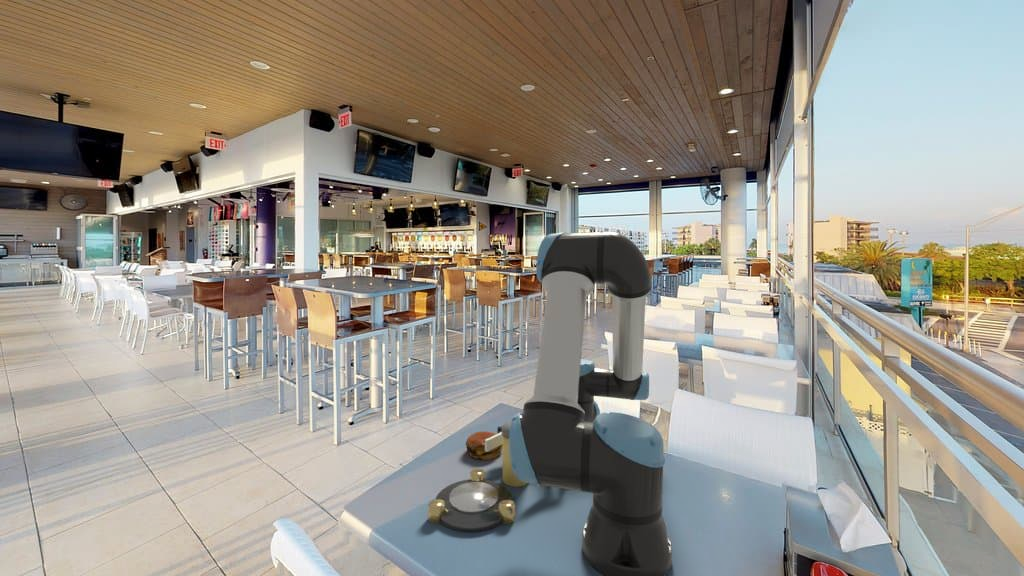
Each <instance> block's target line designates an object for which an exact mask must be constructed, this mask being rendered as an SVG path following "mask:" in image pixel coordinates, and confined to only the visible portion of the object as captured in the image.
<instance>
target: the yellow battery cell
mask: <svg viewBox="0 0 1024 576" xmlns="http://www.w3.org/2000/svg"><path fill="white" fill-rule="evenodd" d="M511 422H512V421H510V422H506V423H504V424H503V425H501V426H502V435H503V448H502V481H503V483H504V484H505V485H506V486H509V487H513V486H514V487H515V488H516V487H517V488H520V487H523V486H526V485H529V483H528V482H524V481H521V480H519V479H518V478H517V477H516V476H515V474H514V472H513V470H512V466H511V461H510V452H509V434H510V425H511Z"/></svg>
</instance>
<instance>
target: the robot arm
mask: <svg viewBox="0 0 1024 576" xmlns="http://www.w3.org/2000/svg"><path fill="white" fill-rule="evenodd" d="M537 251H538V252H537V256H536V261H537V262H536V264H535V265H536V266H535V272H536V278H537V280H538V281H539V282H540V283H541V287H542V289H543V290H544V291H545V292H546V299H545V305H544V306H545V307H544V313H543V320H542V321H543V323H542V330H541V336H540V344H539V352H538V358H537V364H536V365H537V366H536V375H535V381H534V389H533V395H532V397H530V398H529V399H527V400H526V401H525V402H524V404H523V408H522V412H518V413H517V414H513V416H512V418H511V421H510V422H511V425H510V434H509V452H510V461H511V466H512V470H513V472H514V474H515V476H516V477H517V478H518V479H519V480H521V481H524V482H528V484H532V485H533V484H534V485H537V486H538V487H542V486H546V487H549V488H550V487H551V488H558V489H564V490H571V491H577V492H582V493H588V494H589V493H590V494H592V506H591V508H590V511H589V513H588V517H587V520H586V523H584V527H583V530H582V534H581V535H582V538H581V539H582V540H581V542H582V543H581V544H582V545H581V547H582V548H581V549H582V552H583V555H584V557H585V558H586V560H587V561H588V563H589V564H590V565H591V566H592V567H593V568H594V569H595V570H597V571H598V572H599V573H601V574H602V575H605V576H664V575H665V574H666V573H667V572H668V571H669V572H670V570H671V568H672V562H673V549H672V543H671V540H670V538H669V536H668V532H667V527H666V524H665V520H664V517H663V499H664V498H663V494H664V493H663V492H664V491H663V489H664V488H663V486H664V485H663V484H664V466H665V464H666V458H665V451H664V438H663V436H662V434H661V432H660V431H659V429H657V428H656V427H655V426H654V425H652V424H651V423H649V422H648V421H646V420H644V419H642V418H640V417H637V416H634V415H630V414H626V413H622V412H615V411H612V412H611V411H610V412H602V413H601V410H600V407H599V406H598V403H597V402H596V401H595V398H594V397H601V398H611V399H612V398H613V399H622V400H630V401H647V400H648V399H649V396H650V374H649V373H648V372H645V371H643V363H644V362H643V360H644V342H645V341H644V340H645V317H646V299H647V297H646V296H648V295H649V293H650V292H651V289H652V288H651V287H652V275H651V270H650V267H649V264H648V262H647V258H646V257H645V255H644V254H643V252H642V251H641V249H640V248H639V247H638V245H636V243H634V242H633V240H631V239H630V238H628V237H627V236H626V235H623V234H621V233H617V232H614V231H605V232H564V231H562V232H559V233H558V232H557V233H550V234H546V236H544V237H543V239H542V240H541V242H540V245H539V248H538V250H537ZM595 284H597V285H598V284H600V285H601V284H602V285H605V284H607V290H608V293H609V294H610V295H612V297H611V298H612V302H611V303H612V308H611V309H612V311H611V312H612V369H610V368H609V369H606V368H596V366H595V361H592V360H590V359H585V358H582V353H583V352H582V351H583V339H584V328H585V316H586V302H587V297H589V296H590V295H592V294H593V292H594V290H595ZM502 426H503V425H501V426H498V427H497V431H496V432H497V433H495V435H493V436H492V437H490V438H488V439H486V440H485V451H486V452H488V451H490V450H492V449H494V448H496V447H498V446H500V445H502V444H503V435H502ZM669 572H668V573H669ZM668 573H667V574H668ZM665 576H666V575H665Z"/></svg>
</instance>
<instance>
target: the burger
mask: <svg viewBox="0 0 1024 576" xmlns="http://www.w3.org/2000/svg"><path fill="white" fill-rule="evenodd" d="M495 434H496V433H495V432H491V431H484V430H483V431H481V430H480V431H476V432H474V433H471V435H469V436H468V438H467V439H466V441H465V446H466V452H467V453H469V456H471V457H473V458H474V459H475V460H476V459H481V460H483V461H488V460H489V461H490V460H494V459H497V458H498V457H499V456H500V455H501V453H502V451H503V444H502V445H500V446H498V447H496V448H494V449H492V450H490V451H488V452H486V451H485V440H486V439H488V438H490V437H492V436H493V435H495Z"/></svg>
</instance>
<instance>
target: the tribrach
mask: <svg viewBox="0 0 1024 576" xmlns="http://www.w3.org/2000/svg"><path fill="white" fill-rule="evenodd" d="M485 474H486V473H485V470H484V469H480V468H475V469H472V470H471V471H470V479H469V478H468V479H464V480H460V481H456V482H454V483H451V484H450V485H447V486H446V487H444V488H442V489H441V490H440V492H438V494H437V495H436V497H435V499H433V500H430V501H429V502H428V507H427V509H428V521H429V523H431V524H442V526H444V527H446V528H448V529H450V528H451V529H450V530H453V529H454V530H453V531H456V530H457V532H461V531H464V532H463V533H478V532H484V531H488V530H491V529H494V528H495V527H499V526H500V525H501V524H502V525H511V524H513V523H514V522H515V521H516V503H515V501H513V495H512V493H511V492H510V490H509V489H508V488H507V487H506V486H504V485H503V484H501V483H500V482H497V481H495V480H489V479H485Z"/></svg>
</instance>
